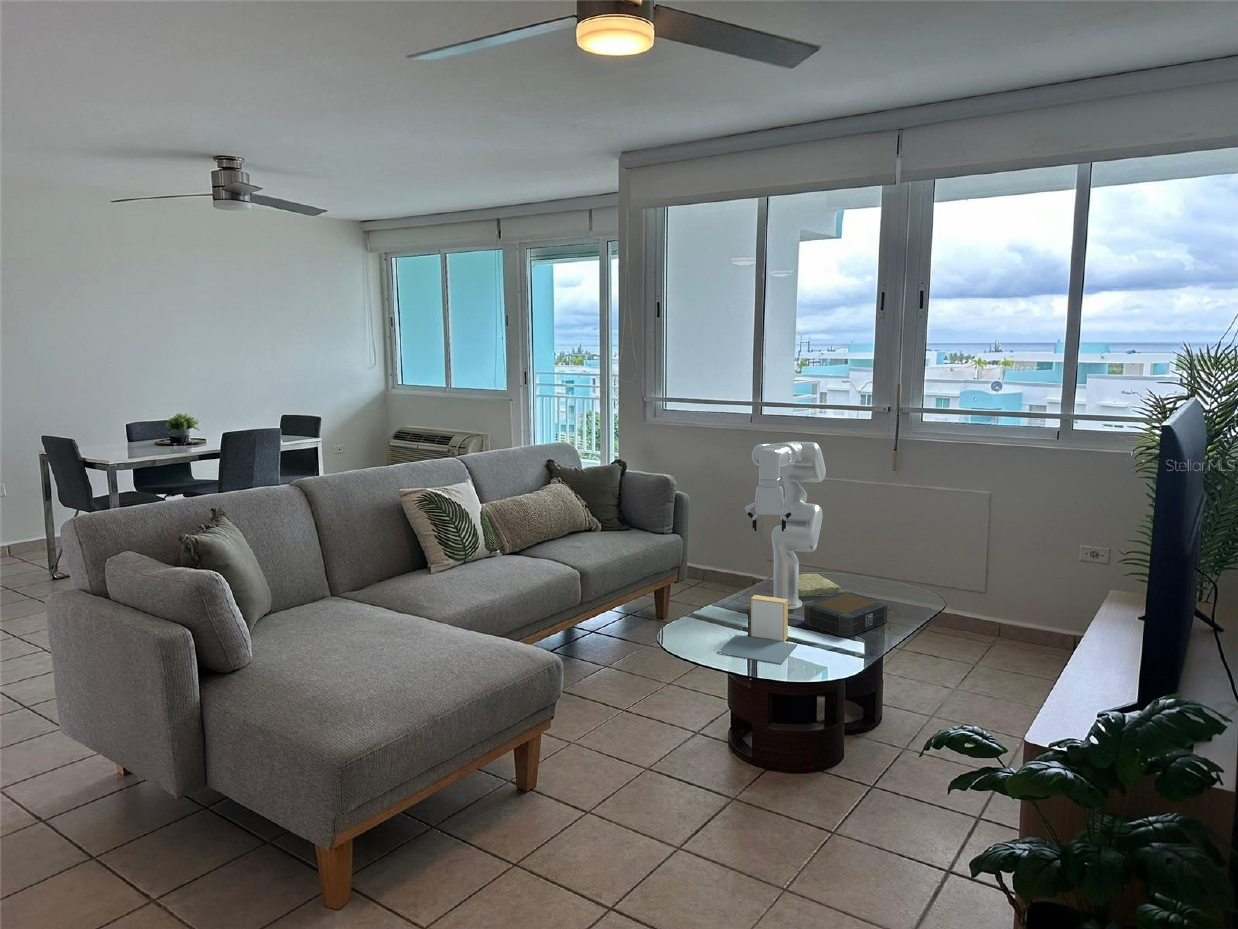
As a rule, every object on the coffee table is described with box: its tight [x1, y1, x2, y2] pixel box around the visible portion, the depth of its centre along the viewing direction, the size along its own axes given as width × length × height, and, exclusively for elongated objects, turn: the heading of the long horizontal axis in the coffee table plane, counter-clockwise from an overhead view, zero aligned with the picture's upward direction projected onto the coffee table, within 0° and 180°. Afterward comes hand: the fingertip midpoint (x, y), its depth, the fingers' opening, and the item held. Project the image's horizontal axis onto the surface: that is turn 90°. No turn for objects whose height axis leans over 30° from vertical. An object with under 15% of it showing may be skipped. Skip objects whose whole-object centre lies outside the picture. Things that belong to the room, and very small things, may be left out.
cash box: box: [803, 590, 889, 638], centre depth 302 cm, size 25×20×8 cm
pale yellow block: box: [750, 594, 789, 642], centre depth 289 cm, size 4×12×14 cm, turn 62°
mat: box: [716, 634, 798, 665], centre depth 279 cm, size 18×22×1 cm
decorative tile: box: [798, 573, 841, 597], centre depth 345 cm, size 19×20×4 cm
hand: (769, 530), depth 297 cm, fingers open, 9 cm apart
